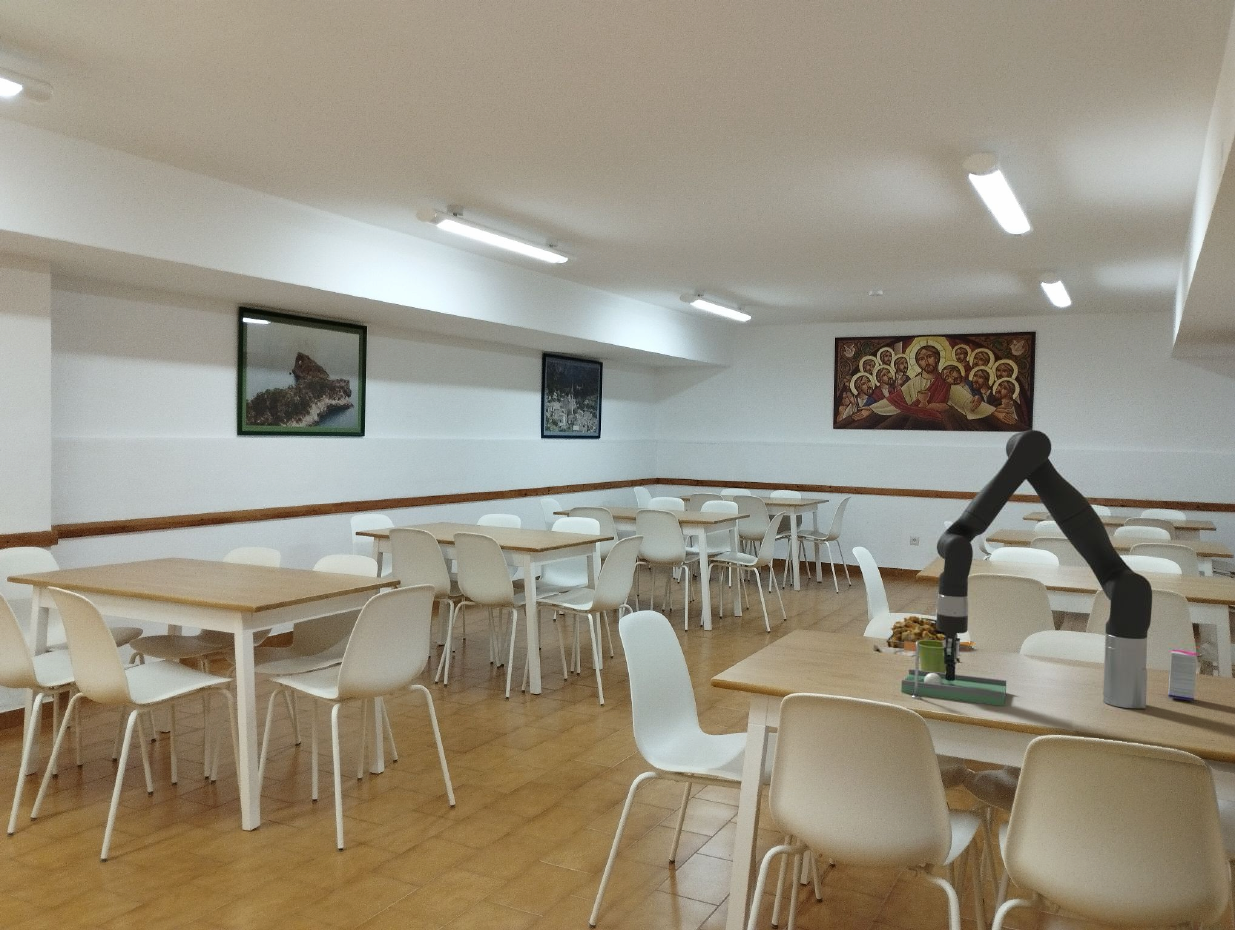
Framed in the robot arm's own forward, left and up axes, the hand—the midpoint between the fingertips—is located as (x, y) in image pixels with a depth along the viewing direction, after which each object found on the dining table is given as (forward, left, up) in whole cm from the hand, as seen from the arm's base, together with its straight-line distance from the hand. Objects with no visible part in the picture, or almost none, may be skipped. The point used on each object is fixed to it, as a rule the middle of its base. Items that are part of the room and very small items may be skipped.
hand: (950, 679), depth 240 cm
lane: (-1, 0, -3) cm, 3 cm away
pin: (+7, +10, -3) cm, 13 cm away
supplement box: (-54, -26, -3) cm, 60 cm away
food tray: (+13, -55, -4) cm, 57 cm away
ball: (+4, 0, -1) cm, 4 cm away
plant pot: (+6, -18, -4) cm, 19 cm away
